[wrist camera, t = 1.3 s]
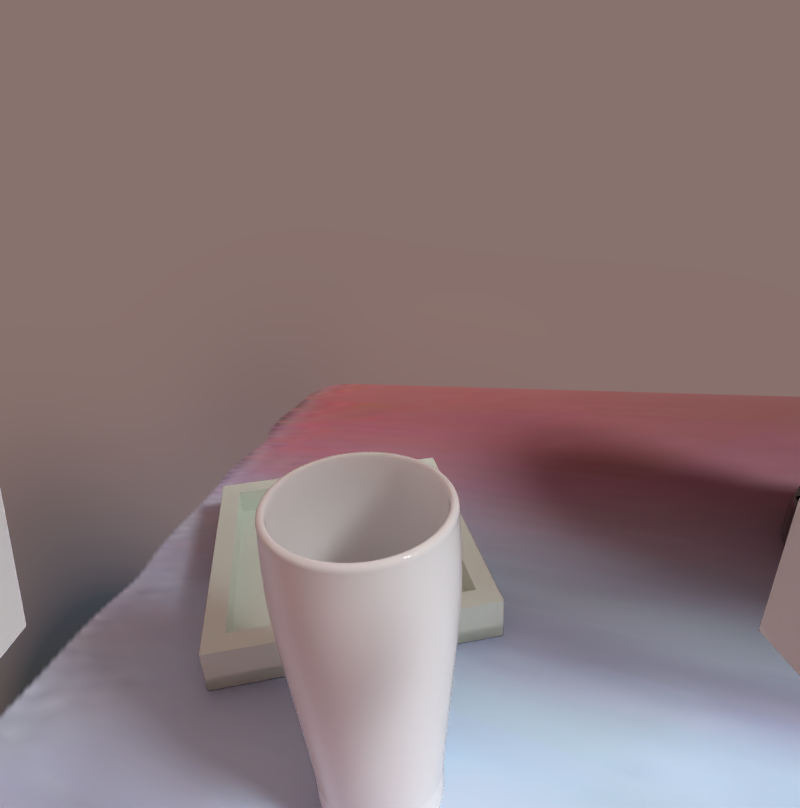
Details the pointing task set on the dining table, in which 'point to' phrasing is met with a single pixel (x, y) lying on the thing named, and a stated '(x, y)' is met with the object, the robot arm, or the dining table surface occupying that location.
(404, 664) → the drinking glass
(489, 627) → the tray
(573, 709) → the dining table surface
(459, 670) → the dining table surface
